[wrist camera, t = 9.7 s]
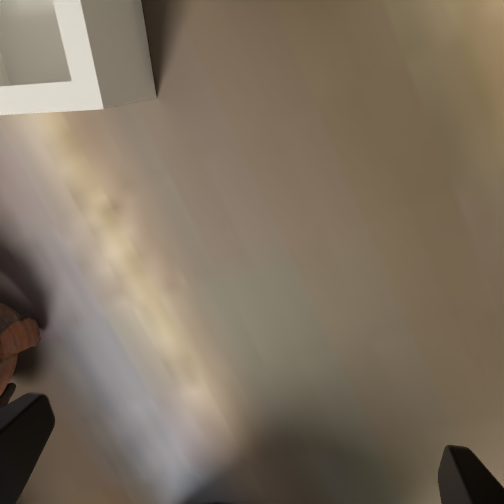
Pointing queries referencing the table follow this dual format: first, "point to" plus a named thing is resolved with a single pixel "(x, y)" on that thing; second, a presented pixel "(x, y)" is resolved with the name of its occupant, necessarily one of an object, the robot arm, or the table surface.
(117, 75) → the white square tube
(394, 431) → the table surface
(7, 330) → the brown rounded hollow piece
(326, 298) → the table surface
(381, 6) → the table surface
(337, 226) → the table surface
